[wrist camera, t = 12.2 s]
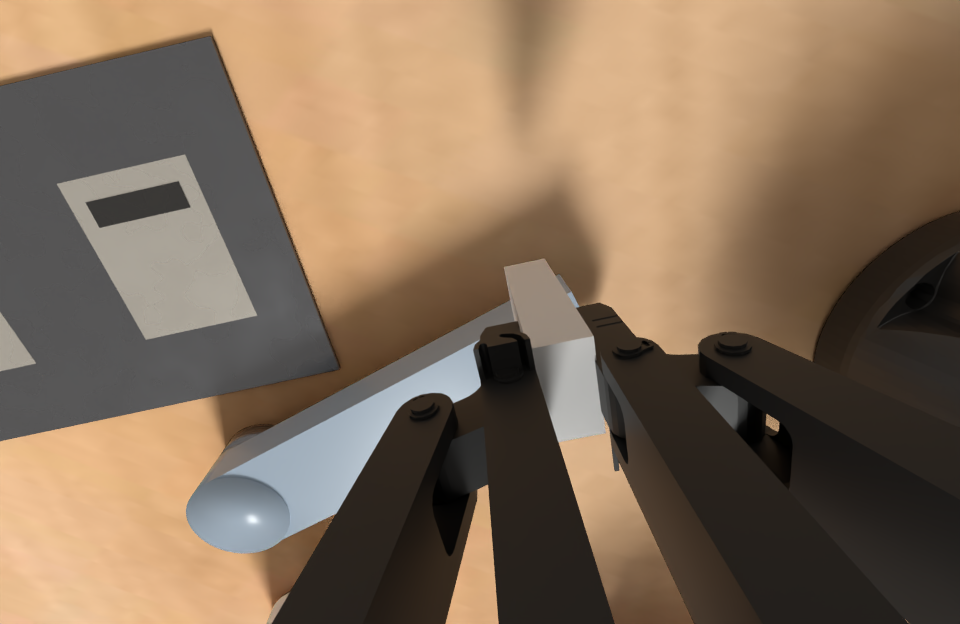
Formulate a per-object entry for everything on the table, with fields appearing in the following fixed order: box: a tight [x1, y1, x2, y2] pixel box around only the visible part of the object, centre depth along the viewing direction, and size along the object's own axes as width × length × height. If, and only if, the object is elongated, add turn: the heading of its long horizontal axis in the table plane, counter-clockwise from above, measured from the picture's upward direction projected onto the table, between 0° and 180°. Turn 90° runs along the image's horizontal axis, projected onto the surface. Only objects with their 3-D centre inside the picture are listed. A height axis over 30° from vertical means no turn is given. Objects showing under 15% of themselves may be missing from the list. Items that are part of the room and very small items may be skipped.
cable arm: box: [186, 274, 579, 553], centre depth 23 cm, size 5×22×3 cm, turn 119°
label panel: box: [0, 36, 340, 441], centre depth 22 cm, size 24×16×1 cm, turn 102°
